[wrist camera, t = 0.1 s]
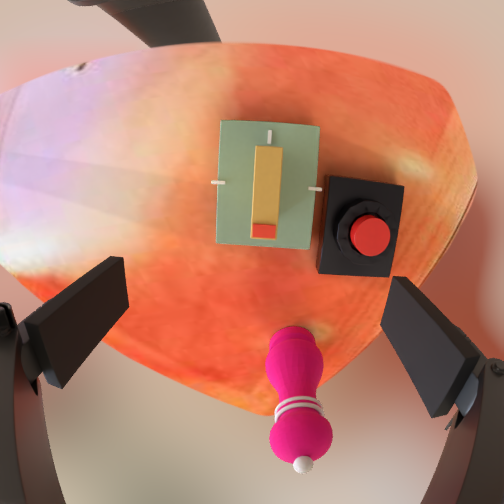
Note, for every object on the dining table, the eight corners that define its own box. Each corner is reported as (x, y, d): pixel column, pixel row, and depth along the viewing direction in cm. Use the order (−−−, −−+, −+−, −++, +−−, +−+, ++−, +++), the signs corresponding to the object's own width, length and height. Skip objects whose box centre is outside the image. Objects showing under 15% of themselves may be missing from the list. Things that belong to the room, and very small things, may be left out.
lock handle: (258, 149, 27) (255, 145, 19) (278, 151, 27) (283, 147, 19) (254, 218, 29) (250, 239, 22) (274, 219, 29) (276, 241, 21)
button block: (325, 174, 30) (333, 176, 27) (396, 184, 30) (411, 188, 26) (315, 267, 34) (321, 280, 30) (383, 271, 34) (394, 283, 30)
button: (352, 212, 28) (357, 215, 26) (386, 216, 28) (393, 220, 26) (347, 249, 29) (351, 254, 28) (380, 252, 29) (386, 257, 27)
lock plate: (219, 123, 29) (214, 119, 26) (320, 130, 29) (326, 126, 26) (215, 235, 33) (209, 243, 30) (311, 242, 33) (315, 250, 30)
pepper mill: (311, 316, 36) (340, 444, 17) (323, 356, 38) (348, 477, 19) (258, 330, 37) (249, 461, 18) (274, 369, 39) (274, 491, 20)
